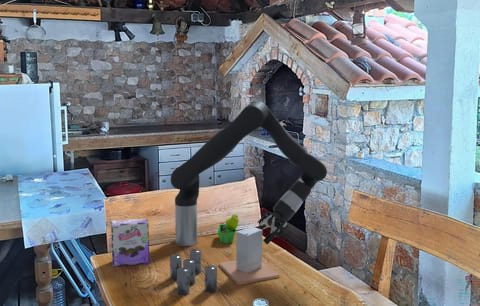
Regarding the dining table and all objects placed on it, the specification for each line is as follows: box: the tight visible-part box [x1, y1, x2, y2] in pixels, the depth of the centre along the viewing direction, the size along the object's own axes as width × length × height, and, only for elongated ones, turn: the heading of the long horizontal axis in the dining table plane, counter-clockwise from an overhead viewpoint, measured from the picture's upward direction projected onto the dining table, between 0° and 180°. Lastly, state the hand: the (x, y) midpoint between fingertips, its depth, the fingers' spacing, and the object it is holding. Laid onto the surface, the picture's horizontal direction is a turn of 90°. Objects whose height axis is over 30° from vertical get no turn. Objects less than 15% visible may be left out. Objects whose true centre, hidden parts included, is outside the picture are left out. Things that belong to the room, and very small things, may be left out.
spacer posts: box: [169, 248, 218, 296], centre depth 165 cm, size 20×13×8 cm, turn 24°
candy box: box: [110, 218, 150, 268], centre depth 182 cm, size 14×6×16 cm, turn 105°
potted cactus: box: [217, 214, 240, 244], centre depth 207 cm, size 11×9×11 cm
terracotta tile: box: [218, 259, 280, 286], centre depth 176 cm, size 18×16×1 cm
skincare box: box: [235, 225, 264, 273], centre depth 174 cm, size 8×6×15 cm
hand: (260, 239), depth 175 cm, fingers open, 8 cm apart
